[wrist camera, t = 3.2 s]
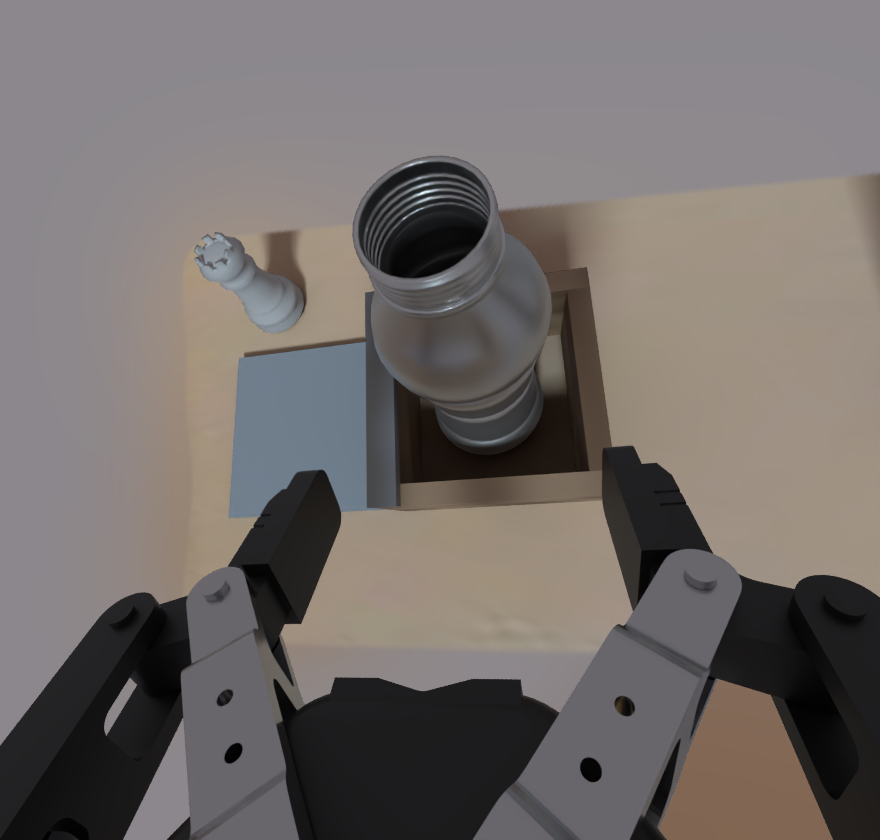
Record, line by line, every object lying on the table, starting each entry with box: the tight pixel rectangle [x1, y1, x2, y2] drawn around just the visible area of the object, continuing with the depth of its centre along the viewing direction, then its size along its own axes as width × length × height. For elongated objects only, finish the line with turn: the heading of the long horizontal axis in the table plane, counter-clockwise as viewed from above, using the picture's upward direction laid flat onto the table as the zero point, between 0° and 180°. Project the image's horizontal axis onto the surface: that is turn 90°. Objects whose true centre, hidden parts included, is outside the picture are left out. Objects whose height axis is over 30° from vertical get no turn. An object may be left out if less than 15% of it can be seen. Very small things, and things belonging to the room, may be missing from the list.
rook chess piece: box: [194, 232, 304, 333], centre depth 32 cm, size 4×4×8 cm
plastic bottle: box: [352, 156, 552, 455], centre depth 20 cm, size 6×7×20 cm
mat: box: [229, 342, 380, 518], centre depth 32 cm, size 12×12×1 cm
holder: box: [365, 267, 612, 511], centre depth 27 cm, size 13×12×7 cm
